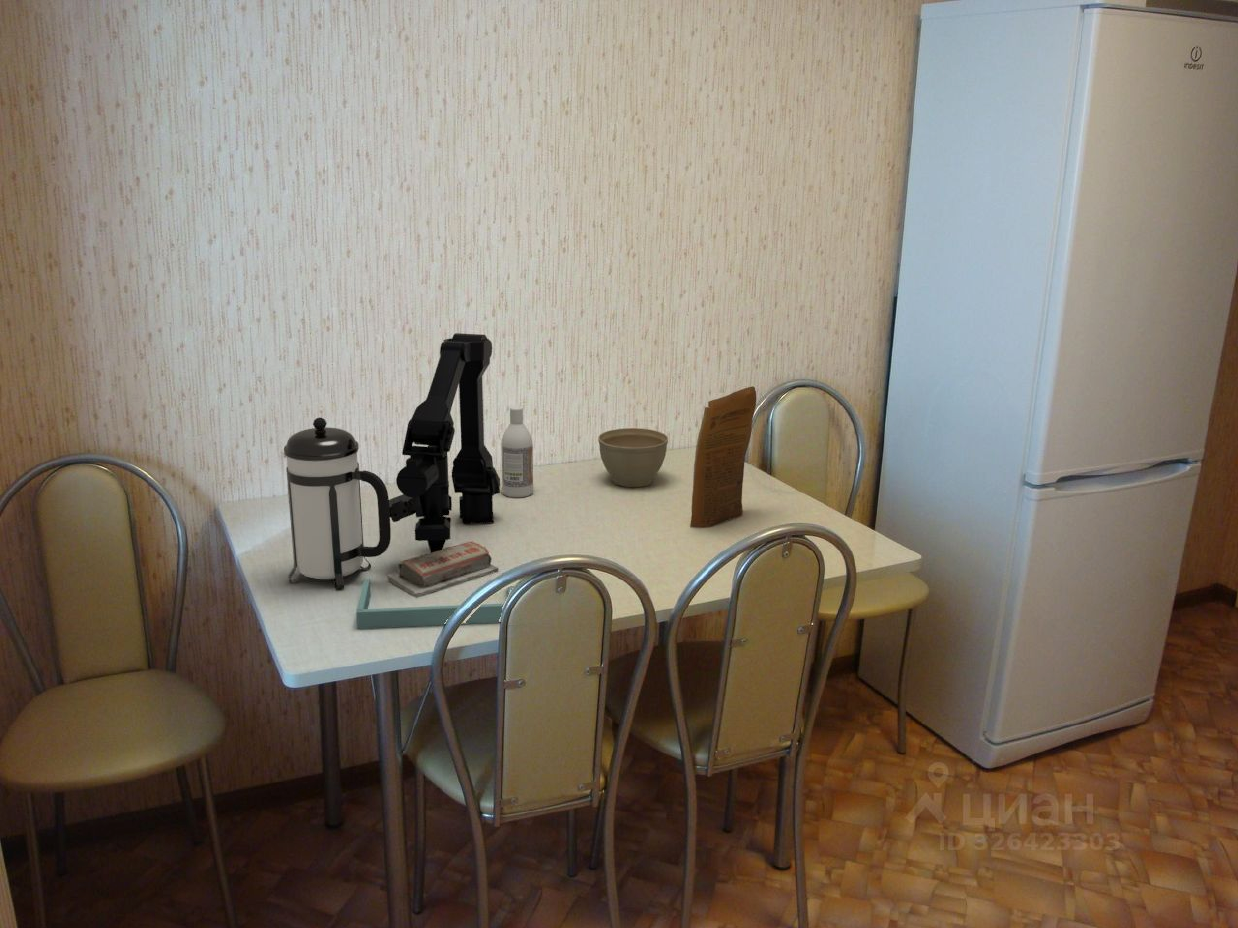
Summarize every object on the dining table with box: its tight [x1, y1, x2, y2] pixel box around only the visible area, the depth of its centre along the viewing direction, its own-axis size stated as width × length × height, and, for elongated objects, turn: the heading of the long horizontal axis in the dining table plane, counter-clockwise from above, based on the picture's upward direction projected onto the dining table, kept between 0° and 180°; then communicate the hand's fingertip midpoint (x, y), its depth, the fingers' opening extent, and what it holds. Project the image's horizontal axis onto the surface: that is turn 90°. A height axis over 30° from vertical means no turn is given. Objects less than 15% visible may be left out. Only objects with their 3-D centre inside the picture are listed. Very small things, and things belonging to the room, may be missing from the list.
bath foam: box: [500, 405, 534, 499], centre depth 242 cm, size 7×7×20 cm
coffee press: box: [283, 417, 392, 591], centre depth 195 cm, size 17×16×30 cm
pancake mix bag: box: [689, 386, 757, 528], centre depth 227 cm, size 7×19×28 cm, turn 134°
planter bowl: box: [597, 427, 669, 488], centre depth 253 cm, size 16×16×11 cm
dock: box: [355, 578, 515, 630], centre depth 186 cm, size 26×14×3 cm, turn 97°
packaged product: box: [386, 541, 499, 598], centre depth 200 cm, size 18×5×10 cm
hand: (435, 558), depth 205 cm, fingers closed
